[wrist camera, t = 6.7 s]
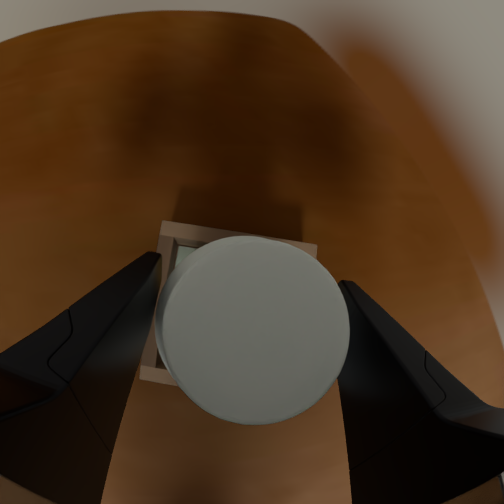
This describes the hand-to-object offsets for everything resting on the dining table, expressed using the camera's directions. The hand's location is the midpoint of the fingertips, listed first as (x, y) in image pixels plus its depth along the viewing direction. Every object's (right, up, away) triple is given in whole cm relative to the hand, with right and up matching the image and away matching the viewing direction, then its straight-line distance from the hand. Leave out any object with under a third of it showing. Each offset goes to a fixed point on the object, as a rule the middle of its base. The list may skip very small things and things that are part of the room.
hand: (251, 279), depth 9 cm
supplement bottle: (-1, -3, +7) cm, 7 cm away
